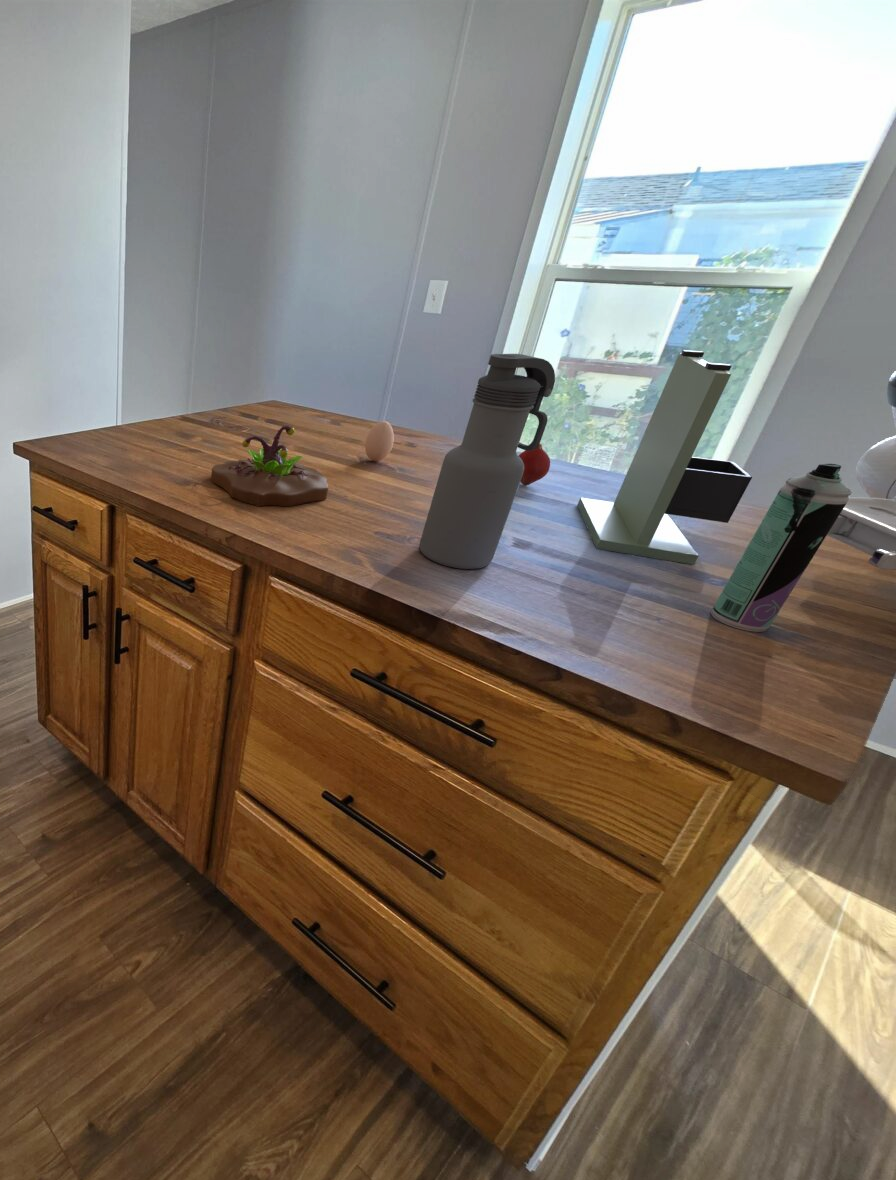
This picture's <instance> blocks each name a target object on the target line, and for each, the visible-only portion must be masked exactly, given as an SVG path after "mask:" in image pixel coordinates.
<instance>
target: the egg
mask: <svg viewBox="0 0 896 1180" xmlns="http://www.w3.org/2000/svg"><path fill="white" fill-rule="evenodd" d="M394 442H395V435H394V430H393V427H392V425H391V423H389V422H388V421H386V420H381V421H379V422H376V423H375V424H374V425H373V426H372V427H371V428H370V430H369V431H368V434H367V436H366V439H365V443H364V449H365V451H364V452H365V454H366V456H367V458H368V459H369V460H371V461H372V462H381V461H382V460H384V459H385V458H386V457H388V455H389V454H390V453H391V451H392V450H393V446H394Z"/></svg>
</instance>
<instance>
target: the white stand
mask: <svg viewBox="0 0 896 1180" xmlns="http://www.w3.org/2000/svg"><path fill="white" fill-rule="evenodd" d="M704 355H705V352H704V351H702V350H701V351H700V350H687V349H683V350H681V352H679V353H678V355H677V356H676V359H675V361H674V364H673V366H672V369H671V371H670V373H669V376H668V378H667V380H666V382H665V384H664V386H663V389H662V392H661V393H660V395H659V398H658V401H657V403H656V405H655V407H654V410H653V412H652V414H651V417H650V420H649V422H648V423H647V426H646V428H645V431H644V432H643V435H642V437H641V440H640V442H639V445H638V447H637V449H636V451H635V453H634V456H633V458H632V461H631V463H630V465H629V468H628V470H627V472H626V474H625V477H624V479H623V481H622V483H621V486H620V488H619V491H618V493H617V495H616V497H615V500H614V502H613V501H609V500H608V501H606V500H600V499H593V498H587V497H586V498H585V497H580V498H579V499H578V502H577V504H576V506H577V508H578V511H579V512H581V513H580V515H581V514H582V515H581V517H582V519H583V521H585V522H584V524H585V523H586V524H585V526H586V525H587V526H586V528H587V527H588V528H587V530H588V532H590V533H589V535H590V538H591V539H592V542H593V544H594V546H595V549H596V550H597V549H598V550H602V551H609V552H615V553H621V554H626V555H633V556H638V557H639V556H640V557H645V558H651V559H657V560H661V561H662V560H663V561H668V562H669V561H670V562H675V563H681V564H687V565H692V566H693V565H695V564H696V562H697V560H698V559H699V556H700V555H699V553H698V552H697V551H696V550H695V548H694V547H693V545H692V544H691V543H690V541H688V539H687V538H686V537H685V536H684V535H685V534H683V533H682V531H681V530H680V529H679V528H678V526H677V525H676V523H675V522H674V521H673V520H672V518H671V517H670V516H676V517H677V516H678V517H685V518H689V519H690V518H691V519H698V520H705V521H710V522H711V521H712V522H718V523H724V524H725V523H726V524H728V523H729V522H730V519H731V518H732V516H733V514H734V513H735V511H736V509H737V507H738V505H739V503H740V501H741V499H742V498H743V496H744V494H745V492H746V490H747V488H748V486H749V484H750V483H751V481H752V478H753V476H751V475H750V474H749V473H748V472H747V471H745V470H744V469H743V468H742V467H741V466H739V465H738V464H737V463H736V462H734V461H731V460H722V459H715V458H714V459H713V458H704V457H696V456H693V455H694V453H695V451H696V449H697V448H698V447H697V446H698V445H699V442H700V441H701V439H702V437H703V434H704V432H705V430H706V428H707V426H708V424H709V422H710V420H711V417H712V415H713V413H714V411H715V410H716V407H717V405H718V403H719V402H720V398H721V397H722V395H723V392H724V391H725V388H726V386H727V384H728V382H729V379H730V378H731V376H732V373H730V370H731V368H732V365H731V364H729V363H719V362H709V361H707V360H705V359H703V357H704Z"/></svg>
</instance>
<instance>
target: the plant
mask: <svg viewBox="0 0 896 1180" xmlns="http://www.w3.org/2000/svg"><path fill="white" fill-rule="evenodd" d="M283 431H285V433H286V434H287V435H288V436H293V434H295V428H294V427H293V426H292V425H286V424H285V425H282V426H281V428H279V429H278V430H277V432H276V434H275V435H274V437H273V441H272V444H271V445H269V444H268V442H267V441H266V439H264V438H263V437H261V436H258V435H257V436H256V435H253V436H250V437H248V438H245V439H244V440H243V441H242V443H241V444H242V446H243V447H244V448H248V447H249V446H250V444H251V441H252V440H256V441H258V442H260V444H261V446H262V448H260V449H259V453H258V452H257V451H254V450H251V449H247V453H248V454H249V455H250V456H251V458H252V459H250V458H247V459H238V460H226V461H225V462H224V463H221V464H220V463H219V464H215V465H213V466H212V468H211V474H210V480H211V482H212V483H213V484H215V485H217V486H218V487H220V488H222V489H223V490H224V491H226V492H227V493H228V494H229V496H230V497H231V498H232V499H234V500H237V501H240V502H242V503H245V504H249V505H253V506H256V507H264V506H279V507H293V506H296V505H301V504H302V505H303V504H307V503H312V502H313V503H314V502H321V501H324V500H326V499H327V498H328V497H327V496H328V492H329V486H328V479H327V477H326V476H325V475H324V474H323V473H322V472H320V471H318V470H317V469H316V468H313V467H310V466H307V465H306V466H305V465H304V464H302V463H300V462H298V461H300V460H301V459H303V455H296V456H293V457H291V458H289V459H287V458H288V455H289V450H288V449H287V446H285V445H283V444H279V442H280V439H281V434H282V433H283Z"/></svg>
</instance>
